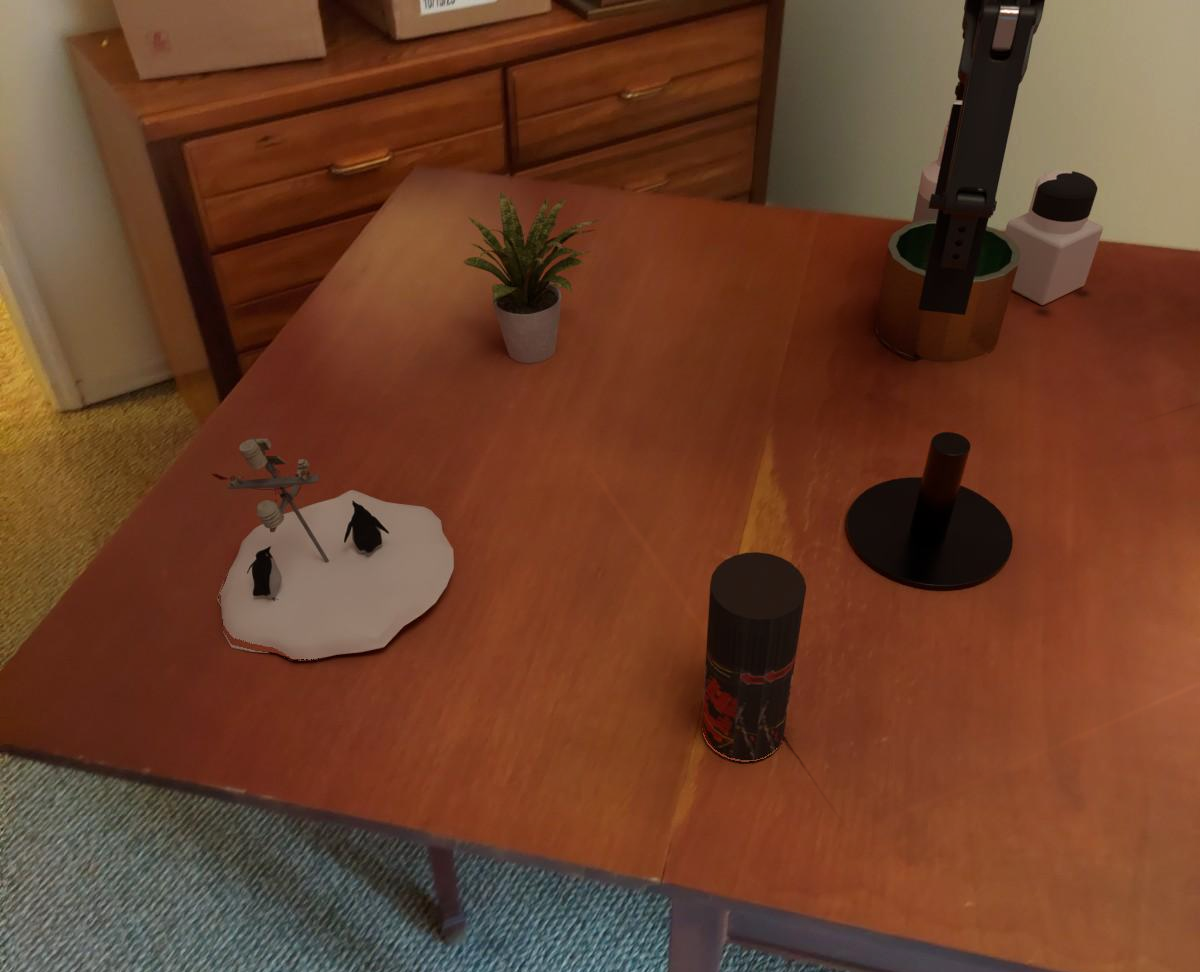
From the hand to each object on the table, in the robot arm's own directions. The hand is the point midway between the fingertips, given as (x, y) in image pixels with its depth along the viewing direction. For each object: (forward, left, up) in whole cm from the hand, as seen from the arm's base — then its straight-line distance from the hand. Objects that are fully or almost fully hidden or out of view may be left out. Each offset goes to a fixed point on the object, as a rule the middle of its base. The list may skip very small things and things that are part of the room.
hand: (947, 254), depth 68 cm
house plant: (+42, +14, -28) cm, 53 cm away
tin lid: (+1, -6, -28) cm, 28 cm away
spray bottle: (+38, -34, -28) cm, 58 cm away
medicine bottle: (+30, -42, -28) cm, 59 cm away
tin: (+27, -26, -28) cm, 47 cm away
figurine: (+18, +41, -28) cm, 53 cm away
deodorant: (-10, +18, -28) cm, 35 cm away
